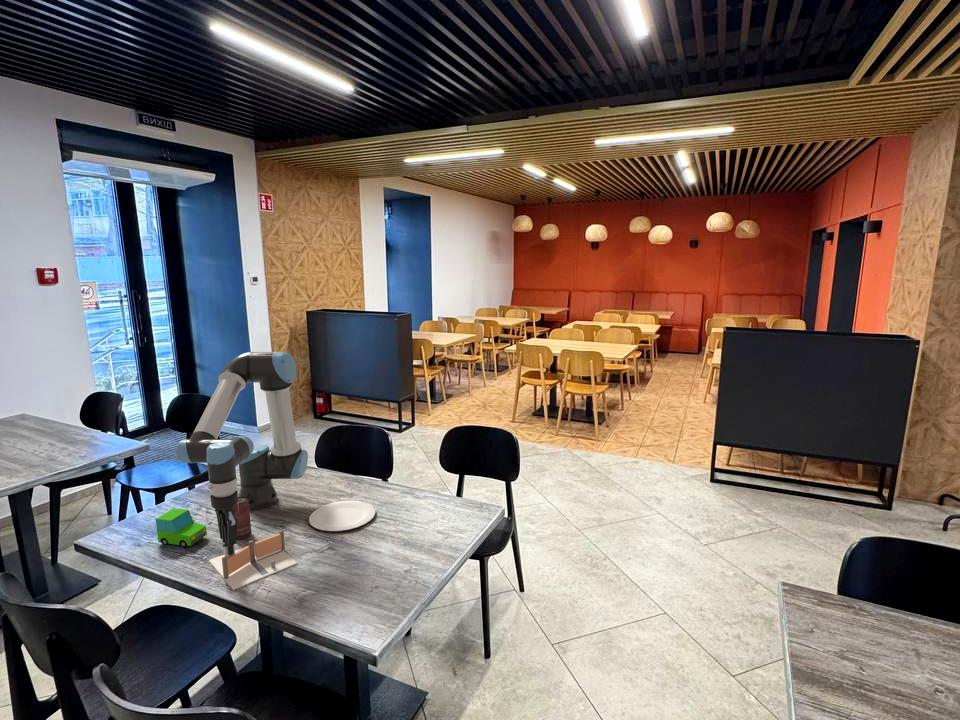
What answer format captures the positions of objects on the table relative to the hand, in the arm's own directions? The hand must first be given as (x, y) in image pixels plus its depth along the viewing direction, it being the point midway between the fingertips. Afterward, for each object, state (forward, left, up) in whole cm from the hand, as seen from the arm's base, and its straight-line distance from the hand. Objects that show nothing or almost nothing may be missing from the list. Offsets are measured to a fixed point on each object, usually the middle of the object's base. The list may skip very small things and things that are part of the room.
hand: (230, 562), depth 162 cm
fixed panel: (-12, -1, -3) cm, 12 cm away
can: (-11, -21, -4) cm, 24 cm away
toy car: (+5, -32, -4) cm, 32 cm away
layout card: (-7, -1, -4) cm, 8 cm away
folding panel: (-1, +1, -3) cm, 3 cm away
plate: (-44, -8, -4) cm, 45 cm away
